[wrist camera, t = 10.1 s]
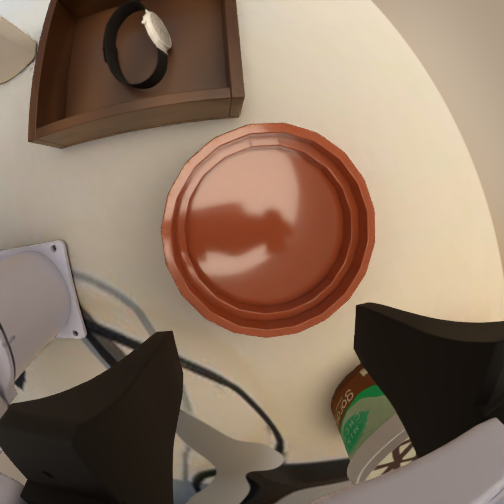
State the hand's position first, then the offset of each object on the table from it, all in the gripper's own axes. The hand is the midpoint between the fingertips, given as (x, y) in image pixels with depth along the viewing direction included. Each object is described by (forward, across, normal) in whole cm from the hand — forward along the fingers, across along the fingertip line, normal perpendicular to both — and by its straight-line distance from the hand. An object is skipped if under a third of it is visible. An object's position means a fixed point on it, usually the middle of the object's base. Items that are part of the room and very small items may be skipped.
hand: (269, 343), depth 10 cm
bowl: (+10, -2, -3) cm, 10 cm away
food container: (+10, -8, +14) cm, 19 cm away
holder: (+10, +6, -17) cm, 21 cm away
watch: (+10, +6, -17) cm, 20 cm away
